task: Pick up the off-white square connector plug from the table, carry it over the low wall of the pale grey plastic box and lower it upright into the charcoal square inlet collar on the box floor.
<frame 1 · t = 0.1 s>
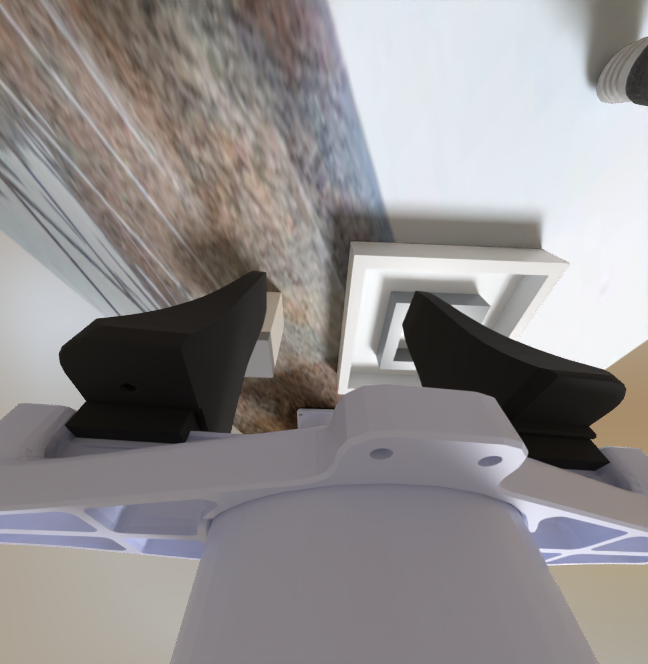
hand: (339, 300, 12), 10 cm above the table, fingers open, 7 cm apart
inlet box: (420, 323, 25), on the table
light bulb: (606, 77, 14), on the table
connector plug: (262, 309, 24), on the table
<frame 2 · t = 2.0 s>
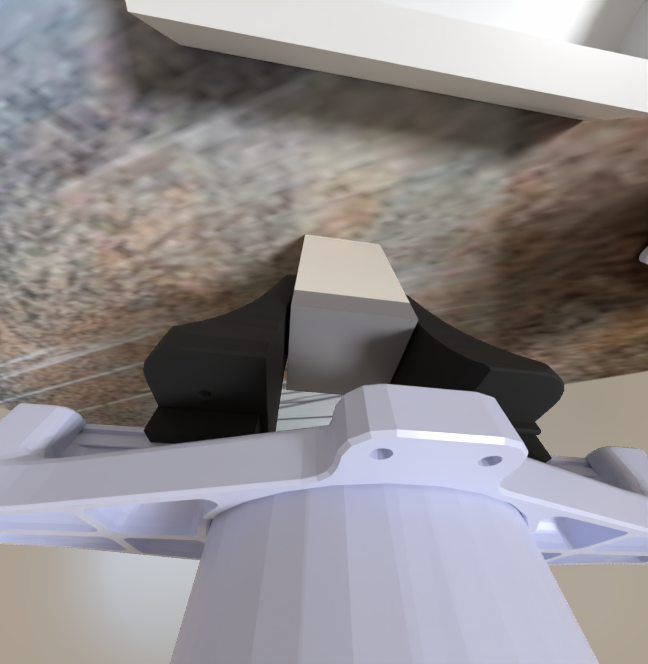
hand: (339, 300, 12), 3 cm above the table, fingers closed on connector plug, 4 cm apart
connector plug: (336, 274, 14), on the table, touching gripper
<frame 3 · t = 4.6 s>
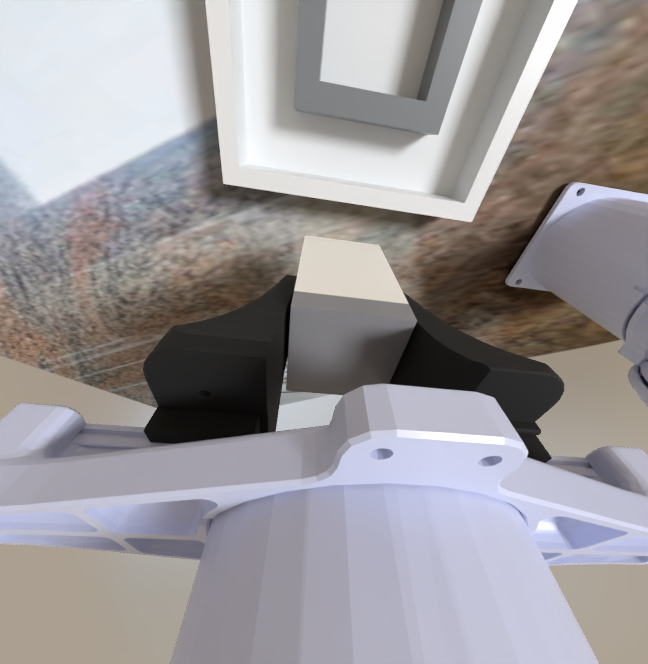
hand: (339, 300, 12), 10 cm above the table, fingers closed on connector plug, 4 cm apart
inlet box: (379, 26, 13), on the table
connector plug: (336, 274, 14), point 7 cm above the table, touching gripper
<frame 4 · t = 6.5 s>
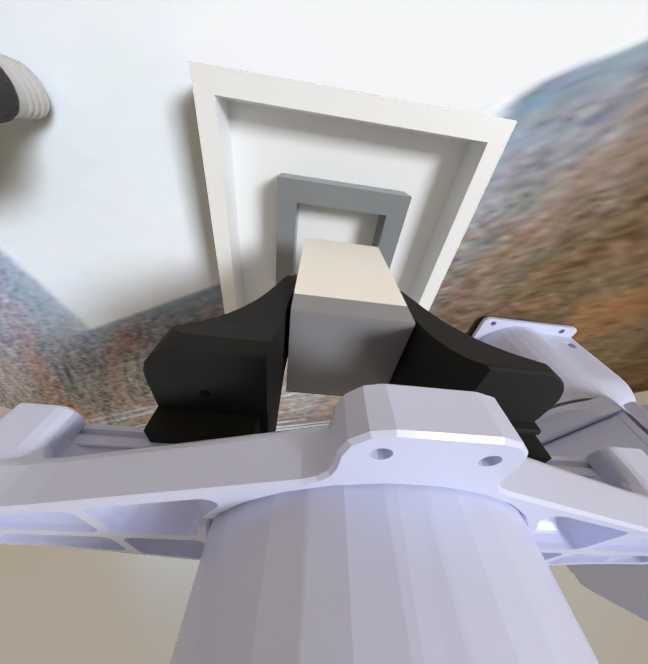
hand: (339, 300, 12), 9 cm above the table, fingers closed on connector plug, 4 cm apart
inlet box: (334, 240, 19), on the table
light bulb: (39, 92, 14), on the table
connector plug: (336, 276, 15), point 6 cm above the table, touching gripper
when the fingers open (5 cm above the table, at t = 7.7 s): connector plug drops 1 cm, resting on inlet box.
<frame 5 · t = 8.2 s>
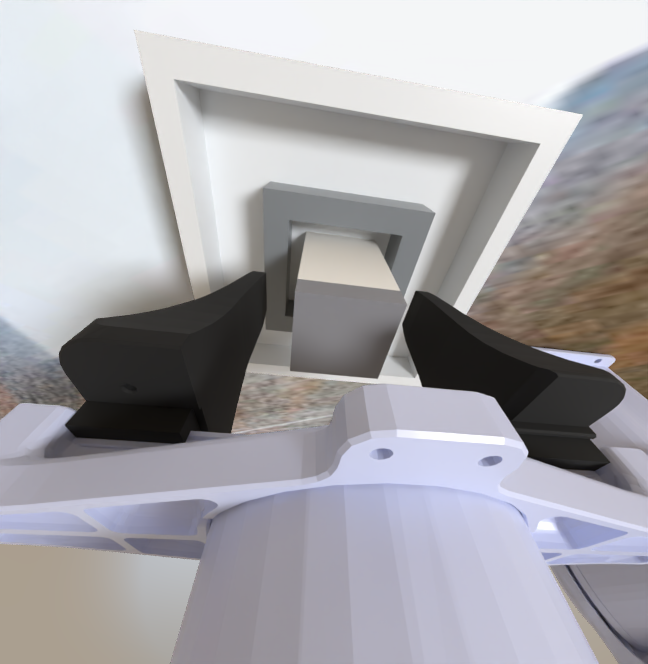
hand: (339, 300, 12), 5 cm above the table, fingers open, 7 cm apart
inlet box: (335, 260, 16), on the table
connector plug: (335, 268, 15), point 1 cm above the table, touching inlet box
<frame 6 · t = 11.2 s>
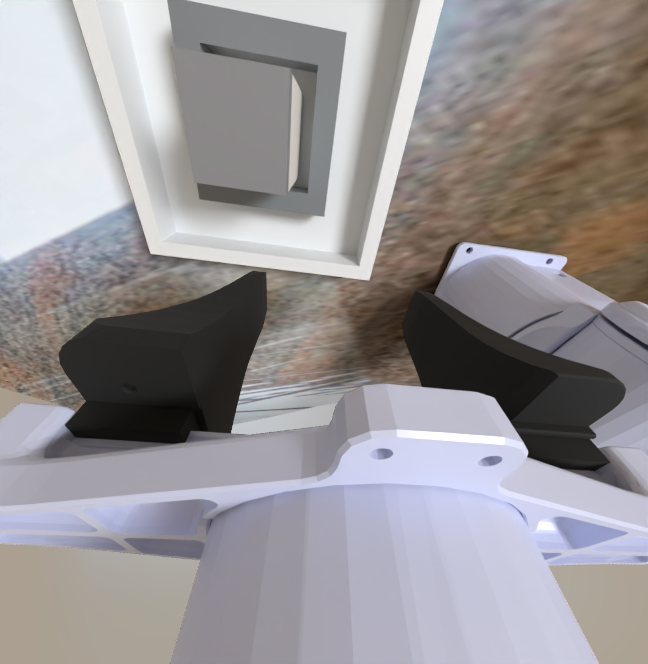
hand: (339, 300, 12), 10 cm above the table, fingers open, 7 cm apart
inlet box: (270, 130, 16), on the table
connector plug: (268, 133, 15), point 1 cm above the table, touching inlet box
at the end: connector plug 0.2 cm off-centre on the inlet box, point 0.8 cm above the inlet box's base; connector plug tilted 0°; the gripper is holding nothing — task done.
